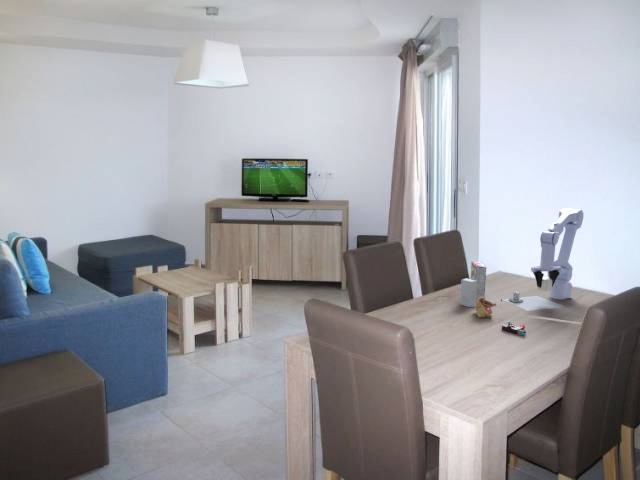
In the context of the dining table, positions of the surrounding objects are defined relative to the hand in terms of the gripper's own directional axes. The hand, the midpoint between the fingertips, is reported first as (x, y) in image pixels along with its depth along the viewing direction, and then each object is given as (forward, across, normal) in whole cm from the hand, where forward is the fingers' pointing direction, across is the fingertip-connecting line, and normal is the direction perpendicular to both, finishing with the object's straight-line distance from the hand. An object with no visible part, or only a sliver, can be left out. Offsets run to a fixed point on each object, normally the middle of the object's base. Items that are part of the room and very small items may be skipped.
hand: (545, 286), depth 282 cm
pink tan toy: (+10, -35, -8) cm, 37 cm away
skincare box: (+10, -34, +7) cm, 36 cm away
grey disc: (+9, -10, +7) cm, 15 cm away
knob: (+1, 0, 0) cm, 1 cm away
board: (+9, -4, +2) cm, 10 cm away
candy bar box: (+10, -24, +20) cm, 32 cm away
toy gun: (+10, -31, -29) cm, 44 cm away
